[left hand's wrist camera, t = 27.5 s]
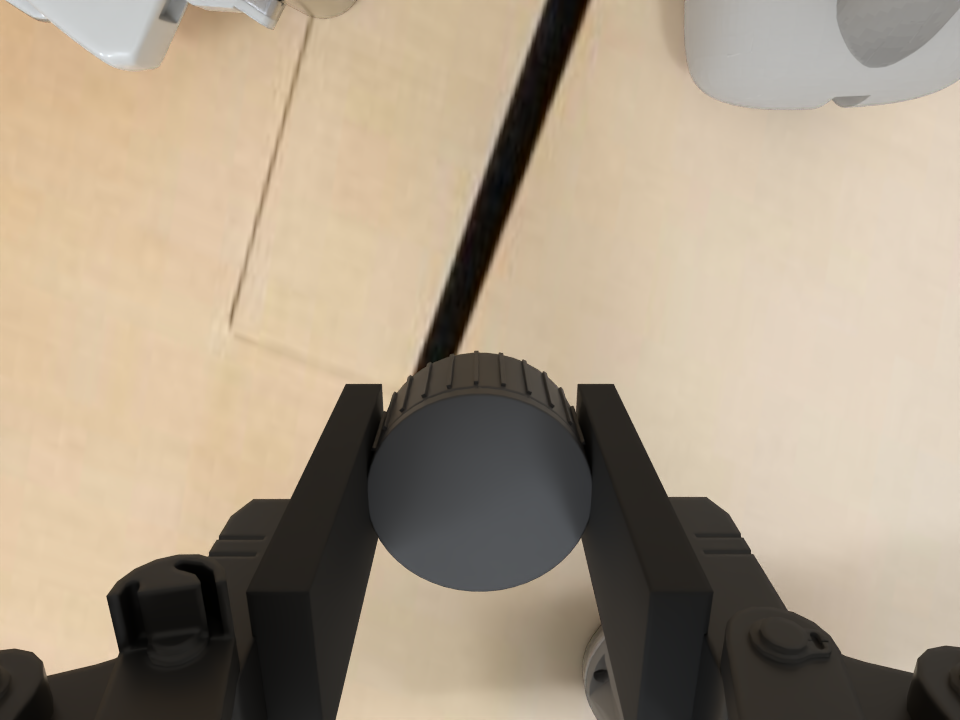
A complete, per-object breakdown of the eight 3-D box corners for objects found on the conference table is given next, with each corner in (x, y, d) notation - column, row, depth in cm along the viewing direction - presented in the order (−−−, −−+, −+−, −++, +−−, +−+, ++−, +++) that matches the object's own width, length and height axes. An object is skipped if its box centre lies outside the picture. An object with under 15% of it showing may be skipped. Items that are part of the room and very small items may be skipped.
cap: (396, 330, 14) (381, 369, 12) (603, 370, 14) (624, 416, 12) (365, 511, 15) (346, 574, 13) (553, 543, 15) (565, 610, 13)
